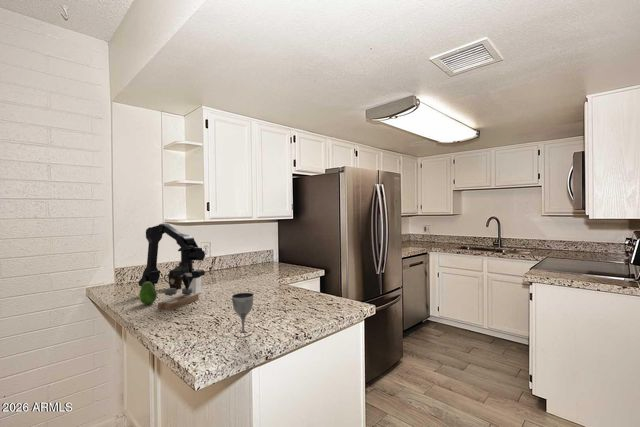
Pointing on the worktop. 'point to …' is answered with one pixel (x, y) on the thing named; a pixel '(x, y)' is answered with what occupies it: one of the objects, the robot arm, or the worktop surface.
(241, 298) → the wine glass
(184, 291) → the knob
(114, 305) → the worktop surface
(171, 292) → the knob
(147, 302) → the avocado
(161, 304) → the knob panel
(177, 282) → the coffee mug
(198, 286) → the jar
